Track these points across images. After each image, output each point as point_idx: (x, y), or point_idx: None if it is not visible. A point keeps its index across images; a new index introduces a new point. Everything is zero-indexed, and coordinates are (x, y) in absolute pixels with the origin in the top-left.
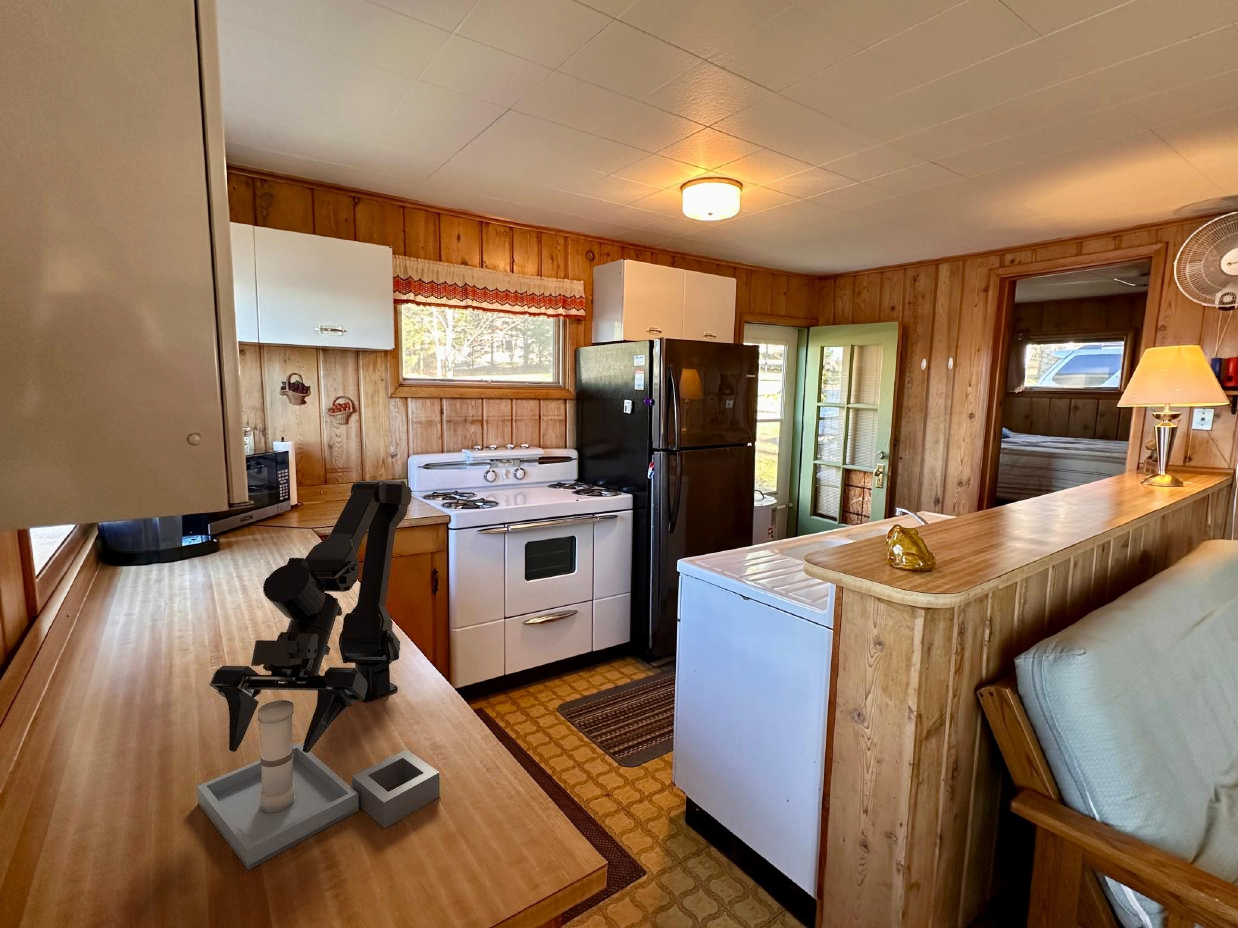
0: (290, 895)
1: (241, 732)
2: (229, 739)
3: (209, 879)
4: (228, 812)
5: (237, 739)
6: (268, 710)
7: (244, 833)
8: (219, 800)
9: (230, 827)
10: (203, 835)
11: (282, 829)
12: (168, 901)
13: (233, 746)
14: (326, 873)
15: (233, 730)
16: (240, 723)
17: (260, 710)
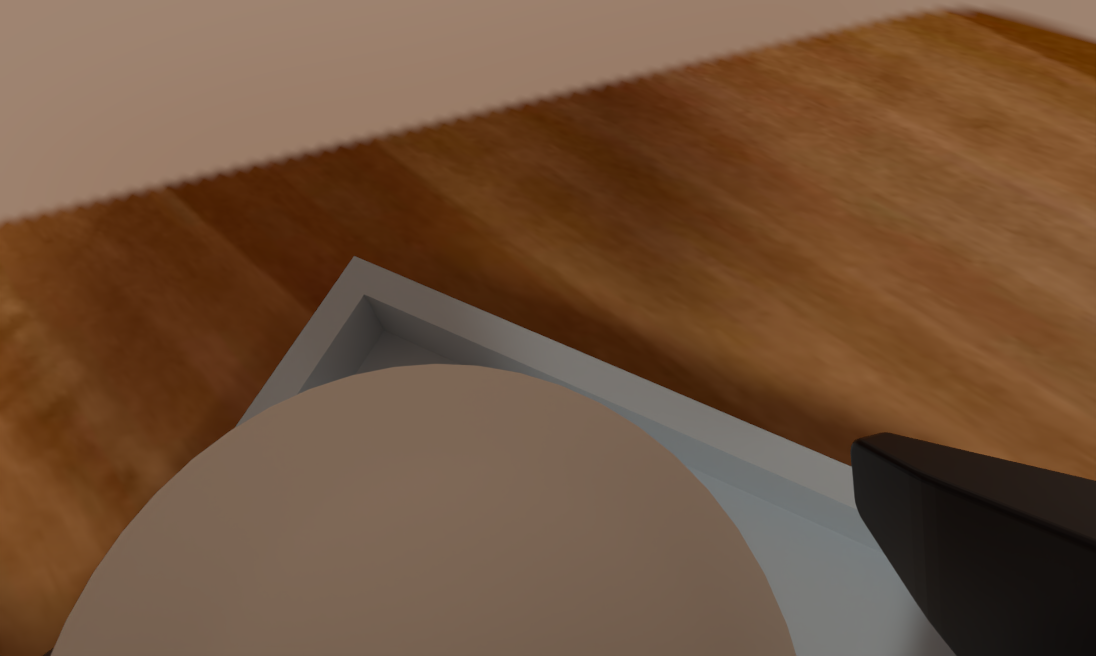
0: (147, 266)
1: (983, 617)
2: (964, 454)
3: (503, 245)
4: (764, 543)
5: (910, 519)
6: (491, 570)
7: (448, 331)
8: (920, 618)
9: (552, 344)
10: (760, 417)
11: (273, 399)
12: (560, 147)
13: (863, 454)
14: (55, 382)
15: (1011, 483)
16: (1076, 615)
17: (656, 510)
